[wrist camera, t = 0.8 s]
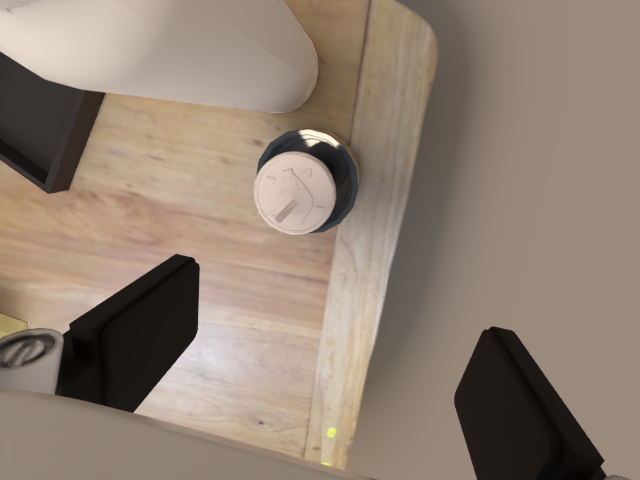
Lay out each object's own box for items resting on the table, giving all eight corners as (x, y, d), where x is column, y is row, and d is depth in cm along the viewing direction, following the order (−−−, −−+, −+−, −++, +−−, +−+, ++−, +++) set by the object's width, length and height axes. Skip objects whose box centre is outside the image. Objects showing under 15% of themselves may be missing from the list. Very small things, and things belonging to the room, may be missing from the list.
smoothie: (292, 211, 34) (244, 262, 21) (278, 151, 32) (215, 169, 19) (349, 201, 33) (336, 250, 20) (338, 138, 31) (315, 148, 18)
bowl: (305, 108, 31) (293, 105, 26) (378, 168, 32) (379, 175, 27) (256, 183, 34) (238, 192, 30) (323, 235, 35) (316, 251, 30)
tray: (-1, -25, 31) (-31, -37, 29) (116, 65, 32) (96, 60, 30) (-32, 119, 37) (-59, 118, 35) (68, 190, 38) (48, 194, 36)
